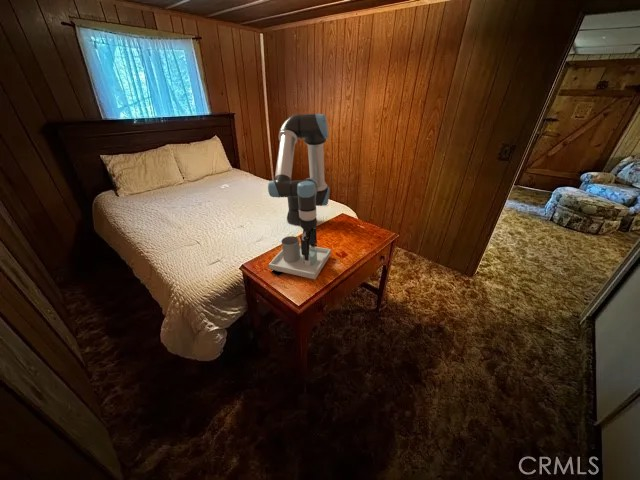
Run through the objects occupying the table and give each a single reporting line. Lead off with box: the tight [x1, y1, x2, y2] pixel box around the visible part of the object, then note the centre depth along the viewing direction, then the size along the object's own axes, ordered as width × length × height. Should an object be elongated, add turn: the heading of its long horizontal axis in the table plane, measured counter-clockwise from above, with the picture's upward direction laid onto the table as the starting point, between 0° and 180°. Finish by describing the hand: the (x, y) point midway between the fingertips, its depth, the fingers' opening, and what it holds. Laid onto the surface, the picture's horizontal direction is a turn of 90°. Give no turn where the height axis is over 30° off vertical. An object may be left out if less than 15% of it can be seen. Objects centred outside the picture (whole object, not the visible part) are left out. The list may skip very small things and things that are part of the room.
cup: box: [281, 235, 300, 263], centre depth 123 cm, size 8×8×10 cm
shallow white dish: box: [268, 243, 332, 280], centre depth 124 cm, size 22×24×4 cm
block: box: [303, 250, 317, 266], centre depth 121 cm, size 5×5×5 cm
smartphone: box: [272, 270, 285, 277], centre depth 123 cm, size 7×1×15 cm
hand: (310, 261), depth 122 cm, fingers open, 5 cm apart
